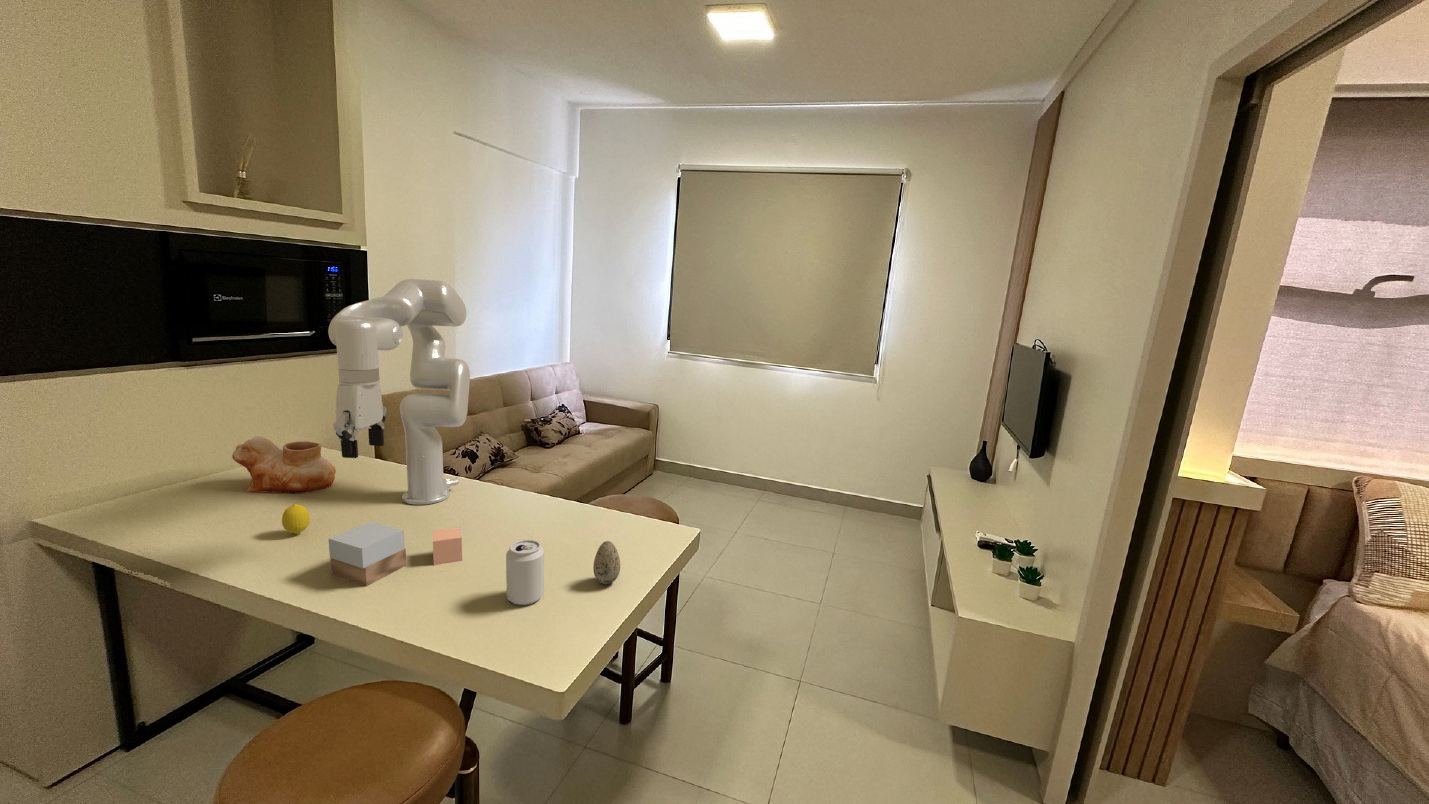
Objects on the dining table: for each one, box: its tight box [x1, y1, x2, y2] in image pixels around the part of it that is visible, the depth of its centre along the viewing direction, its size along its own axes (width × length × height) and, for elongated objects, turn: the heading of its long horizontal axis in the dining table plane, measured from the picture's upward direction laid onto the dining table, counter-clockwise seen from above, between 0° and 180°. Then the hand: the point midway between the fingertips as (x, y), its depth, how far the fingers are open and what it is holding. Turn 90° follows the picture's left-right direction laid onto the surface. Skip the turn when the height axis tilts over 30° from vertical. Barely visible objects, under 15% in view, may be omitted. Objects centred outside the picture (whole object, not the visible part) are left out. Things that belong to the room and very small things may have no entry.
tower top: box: [328, 521, 405, 568], centre depth 121 cm, size 10×10×4 cm
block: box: [431, 527, 463, 566], centre depth 129 cm, size 6×6×6 cm
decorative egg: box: [592, 540, 621, 585], centre depth 123 cm, size 6×6×10 cm
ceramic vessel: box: [231, 435, 337, 494], centre depth 164 cm, size 14×26×15 cm, turn 96°
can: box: [505, 538, 545, 606], centre depth 114 cm, size 8×8×12 cm
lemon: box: [281, 503, 311, 536], centre depth 136 cm, size 6×6×8 cm
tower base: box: [330, 548, 407, 587], centre depth 122 cm, size 10×10×4 cm
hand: (363, 451), depth 123 cm, fingers open, 9 cm apart
